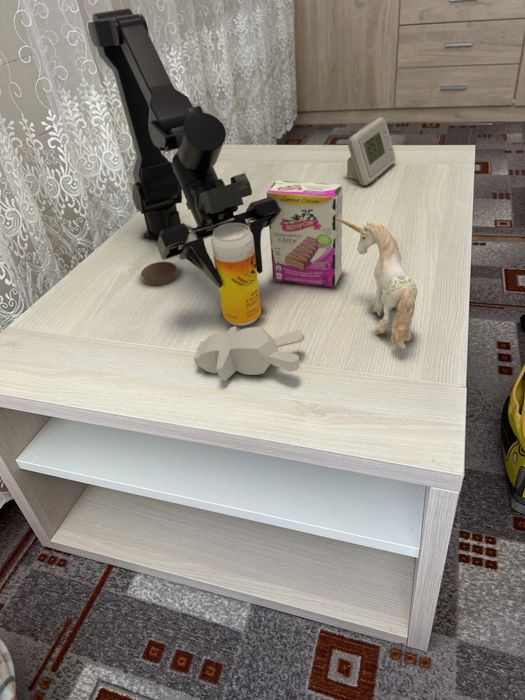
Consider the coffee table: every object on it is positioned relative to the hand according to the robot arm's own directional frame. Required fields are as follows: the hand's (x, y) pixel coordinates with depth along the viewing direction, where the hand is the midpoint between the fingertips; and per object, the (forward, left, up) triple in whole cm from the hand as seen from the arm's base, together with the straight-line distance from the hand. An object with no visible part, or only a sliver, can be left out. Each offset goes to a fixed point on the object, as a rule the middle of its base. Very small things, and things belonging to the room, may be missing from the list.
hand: (241, 279), depth 82 cm
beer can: (-1, +1, -8) cm, 8 cm away
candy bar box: (+4, +15, -8) cm, 17 cm away
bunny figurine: (+6, -9, -8) cm, 13 cm away
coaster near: (-22, +6, -8) cm, 24 cm away
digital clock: (-1, +62, -8) cm, 62 cm away
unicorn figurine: (+18, +7, -8) cm, 21 cm away
